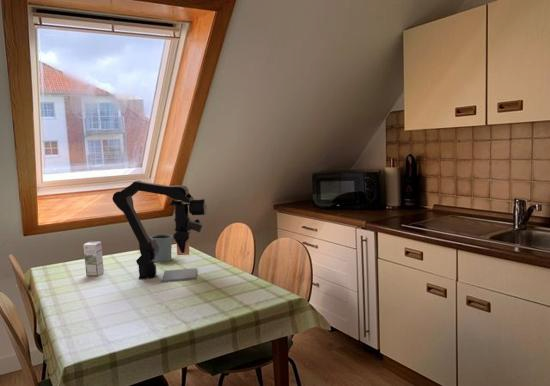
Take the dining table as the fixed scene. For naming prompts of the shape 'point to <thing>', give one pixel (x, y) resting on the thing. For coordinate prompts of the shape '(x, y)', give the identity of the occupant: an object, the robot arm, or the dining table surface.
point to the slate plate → (179, 274)
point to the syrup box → (93, 258)
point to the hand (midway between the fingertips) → (183, 251)
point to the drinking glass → (163, 247)
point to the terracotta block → (185, 249)
